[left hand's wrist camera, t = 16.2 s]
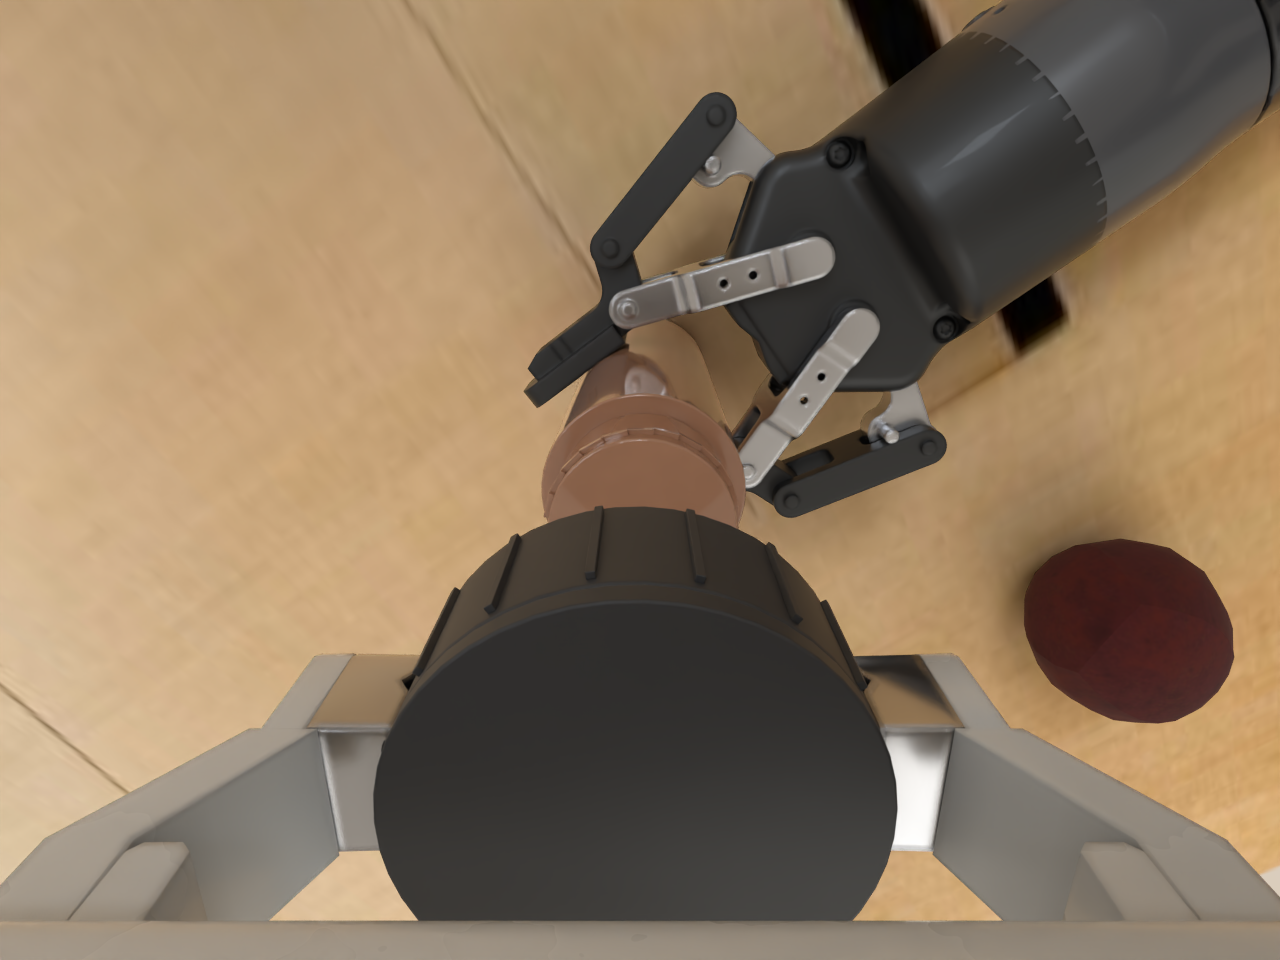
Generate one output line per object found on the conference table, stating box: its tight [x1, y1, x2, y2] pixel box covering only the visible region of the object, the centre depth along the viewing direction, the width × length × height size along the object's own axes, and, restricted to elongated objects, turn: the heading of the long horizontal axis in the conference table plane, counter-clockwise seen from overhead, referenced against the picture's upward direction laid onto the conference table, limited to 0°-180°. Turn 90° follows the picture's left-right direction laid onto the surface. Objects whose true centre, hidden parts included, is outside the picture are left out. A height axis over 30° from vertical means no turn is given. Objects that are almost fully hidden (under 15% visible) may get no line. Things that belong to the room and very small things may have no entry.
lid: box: [373, 506, 898, 921], centre depth 9 cm, size 6×6×2 cm
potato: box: [1024, 539, 1234, 723], centre depth 31 cm, size 7×8×7 cm
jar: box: [542, 320, 746, 529], centre depth 24 cm, size 5×5×16 cm
